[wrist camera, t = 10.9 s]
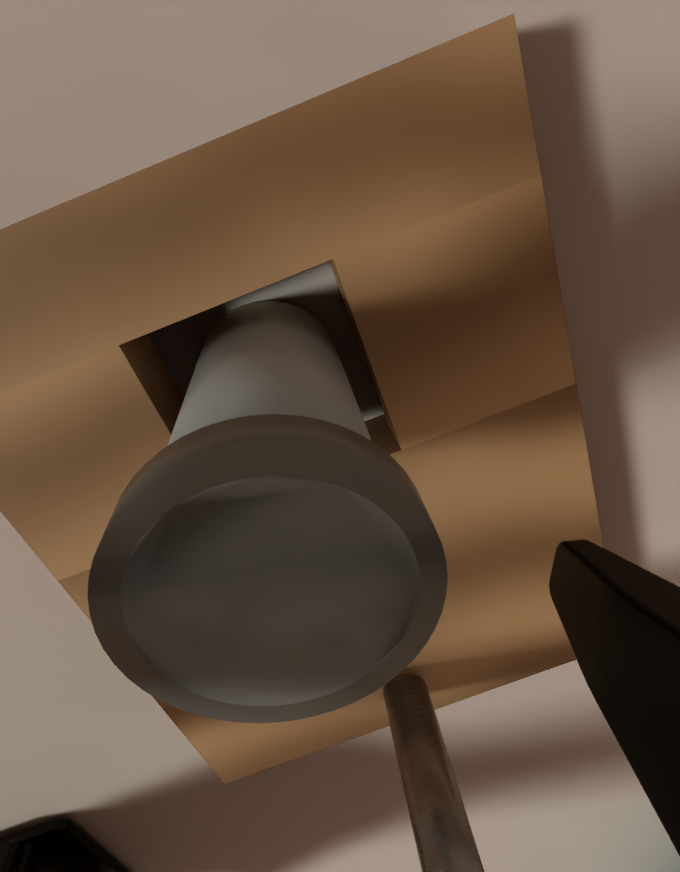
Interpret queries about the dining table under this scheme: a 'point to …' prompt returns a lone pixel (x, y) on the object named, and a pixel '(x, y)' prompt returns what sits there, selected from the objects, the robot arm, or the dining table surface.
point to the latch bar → (429, 780)
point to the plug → (267, 539)
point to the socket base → (376, 333)
